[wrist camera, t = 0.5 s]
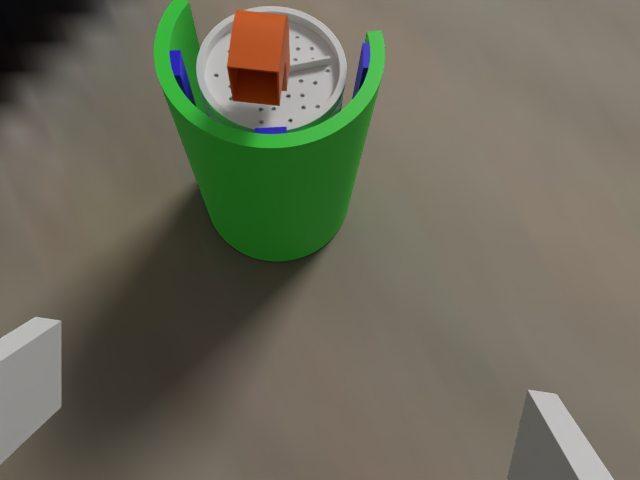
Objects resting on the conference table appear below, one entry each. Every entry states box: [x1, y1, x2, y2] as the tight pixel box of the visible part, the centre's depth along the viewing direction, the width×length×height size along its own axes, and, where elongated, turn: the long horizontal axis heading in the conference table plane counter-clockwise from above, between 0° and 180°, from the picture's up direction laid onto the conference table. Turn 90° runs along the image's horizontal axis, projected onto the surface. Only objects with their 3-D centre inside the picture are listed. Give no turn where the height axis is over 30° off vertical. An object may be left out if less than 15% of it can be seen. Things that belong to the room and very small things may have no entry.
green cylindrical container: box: [154, 0, 385, 262], centre depth 26 cm, size 9×8×18 cm
